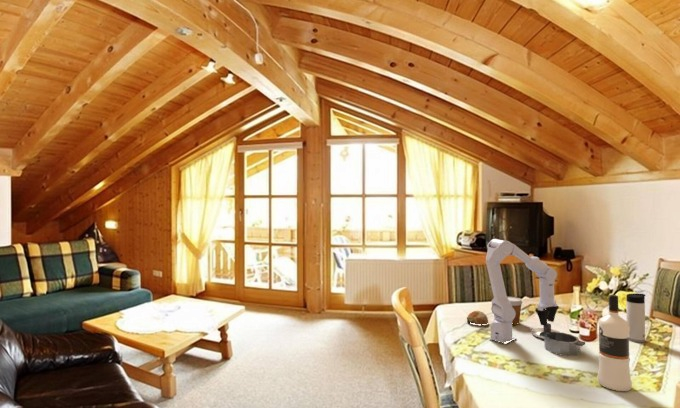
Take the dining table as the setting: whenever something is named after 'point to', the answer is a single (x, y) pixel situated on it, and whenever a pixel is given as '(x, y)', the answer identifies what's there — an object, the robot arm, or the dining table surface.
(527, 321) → the dining table surface
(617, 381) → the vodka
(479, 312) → the bread roll
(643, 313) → the travel mug
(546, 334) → the pot
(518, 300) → the disposable coffee cup
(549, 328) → the lid
